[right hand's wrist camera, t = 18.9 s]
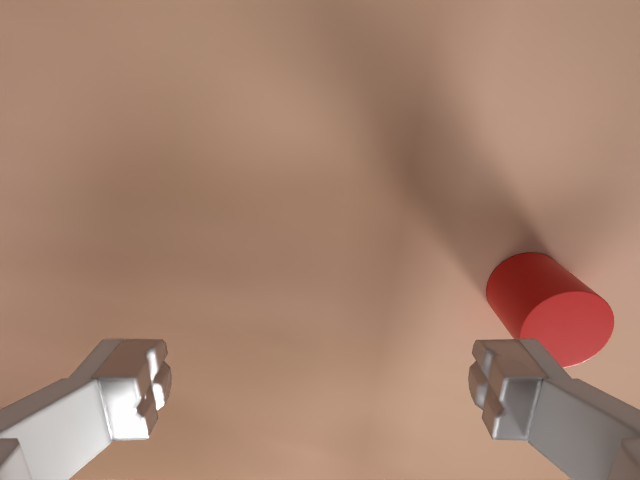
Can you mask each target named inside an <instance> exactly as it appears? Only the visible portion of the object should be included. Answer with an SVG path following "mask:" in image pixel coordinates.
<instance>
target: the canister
mask: <svg viewBox="0 0 640 480" xmlns="http://www.w3.org/2000/svg"><path fill="white" fill-rule="evenodd" d="M486 296H487V300H488V303H489V305H490V306H491V308H492V309H493V311H494V312H495V313H496V315H497V316H498V317H499V319H500V320H501V322H502V323H503V324H504V326H505V327H506V328H507V330H508V331H509V333H510V334H511V335H512V337H513V338H514V339H528V338H534V339H536V340H538V341H539V342H540V343H541V344H542V345H543V346H544V348H545V349H546V350H547V351H548V352H549V353H550V354H551V356H552V357H553V358H554V359H555V360H556V361H557V362H558V364H559V365H560V366H561V367H562V368H564V367H570V366H574V365H577V364H580V363H582V362H584V361H586V360H588V359H590V358H591V357H593V356H594V355H596V354H597V353H598V352H599V351H600V350H601V349H602V348H603V347H604V346H605V345H606V343H607V342H608V340H609V338H610V337H611V334H612V331H613V327H614V316H613V312H612V310H611V307H610V306H609V304H608V303H607V302H606V301H605V300H604V299H603V298H602V297H600V296H599V295H598V294H596V293H595V292H594V291H593V290H591V289H590V288H589V287H588V286H586V285H585V284H584V283H582V282H581V281H580V280H579V279H577V278H576V277H575V276H574V275H572V274H571V273H570V272H569V271H567V270H566V269H565V268H563V267H562V266H561V265H560V264H558V263H557V262H556V261H555V260H553V259H552V258H550V257H548V256H546V255H544V254H540V253H523V254H519V255H516V256H513V257H511V258H509V259H507V260H505V261H504V262H503V263H501V264H500V265H499V266H498V267H497V268H496V269H495V270H494V272H493V273H492V274H491V276H490V278H489V281H488V284H487V289H486Z"/></svg>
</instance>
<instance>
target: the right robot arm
mask: <svg viewBox="0 0 640 480" xmlns="http://www.w3.org/2000/svg"><path fill="white" fill-rule="evenodd" d="M167 354H168V351H167V346H166V342H165V341H164V340H163V339H104V340H102V341H101V342H100V343H99V344H98V345H97V346H96V347H95V349H94V350H93V351H92V352H91V353H90V354H89V355H88V357H87V358H86V359H85V360H84V361H83V362H82V363H81V365H80V366H79V367H78V368H77V369H76V370H75V371H74V373H73V374H72V375H71V376H70V377H69V378H68V379H60V380H58V381H57V382H55V383H53V384H51V385H49V386H47V387H45V388H43V389H41V390H39V391H37V392H35V393H33V394H31V395H29V396H27V397H25V398H23V399H21V400H19V401H17V402H15V403H13V404H11V405H9V406H7V407H5V408H3V409H1V410H0V480H68V479H69V478H70V477H72V476H73V475H74V474H75V473H76V472H78V471H79V470H80V469H81V468H82V467H83V466H85V465H86V464H87V463H88V462H89V461H91V460H92V459H93V458H94V457H95V456H96V455H98V454H99V453H100V452H101V451H102V450H104V449H105V448H106V447H107V446H108V445H110V444H111V443H112V441H116V440H148V438H149V436H150V434H151V432H152V429H153V427H154V425H155V423H156V421H157V419H158V414H157V410H158V409H159V408H161V407H162V406H163V405H165V403H166V401H167V399H168V397H169V393H170V388H171V369H170V367H169V366H168V365H167V364H166V363H165V362H164V359H165V358H166V356H167ZM472 354H473V356H474V358H475V360H476V362H475V363H474V364H473V365H472V366H471V367H470V369H469V377H468V380H469V390H470V393H471V397H472V399H473V401H474V403H475V405H477V406H478V407H479V408H481V409H482V410H483V414H482V419H483V421H484V423H485V425H486V427H487V429H488V431H489V433H490V435H491V437H492V439H493V440H524V441H528V443H529V444H531V445H532V446H533V447H534V448H535V449H537V450H538V451H539V452H540V453H541V454H542V455H544V456H545V457H546V458H547V459H548V460H550V461H551V462H552V463H553V464H554V465H555V466H557V467H558V468H559V469H560V470H561V471H563V472H564V473H565V474H566V475H567V476H568V477H570V478H571V479H572V480H640V410H639V409H637V408H635V407H633V406H631V405H629V404H627V403H625V402H623V401H621V400H619V399H617V398H615V397H613V396H611V395H609V394H607V393H605V392H603V391H601V390H599V389H597V388H595V387H593V386H591V385H589V384H587V383H585V382H583V381H581V380H580V379H572V378H571V377H570V376H569V375H568V374H567V373H566V372H565V370H564V369H563V368H562V367H561V366H560V365H559V364H558V362H557V361H556V360H555V359H554V358H553V357H552V356H551V354H550V353H549V352H548V351H547V350H546V349H545V348H544V346H543V345H542V344H541V343H540V342H539V341H538V340H536V339H534V338H528V339H505V340H476V341H475V343H474V345H473V350H472Z"/></svg>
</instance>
